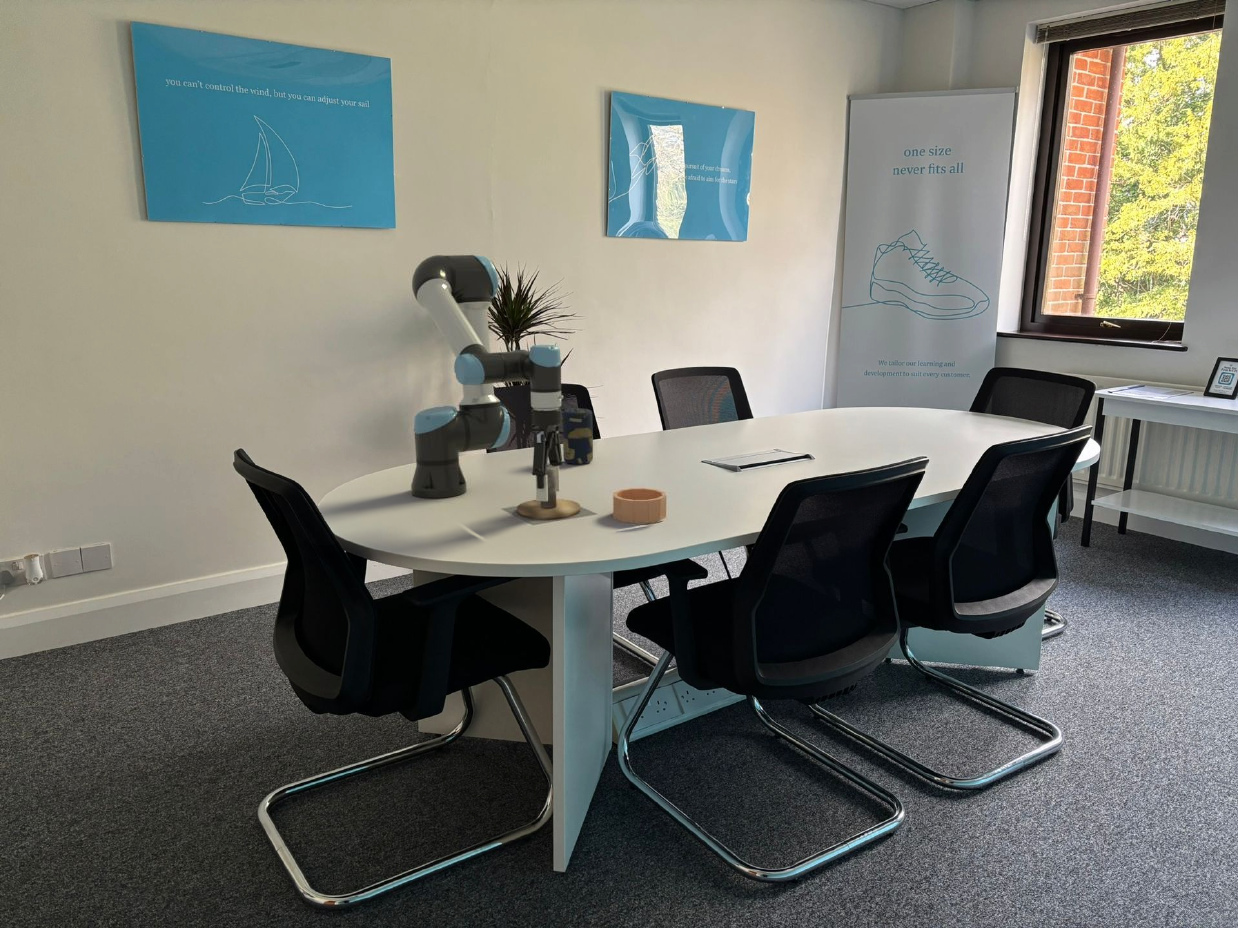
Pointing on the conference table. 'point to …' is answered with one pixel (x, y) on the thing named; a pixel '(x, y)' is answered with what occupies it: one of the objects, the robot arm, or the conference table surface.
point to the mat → (535, 521)
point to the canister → (577, 436)
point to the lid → (549, 503)
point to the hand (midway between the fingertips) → (548, 495)
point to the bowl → (639, 505)
